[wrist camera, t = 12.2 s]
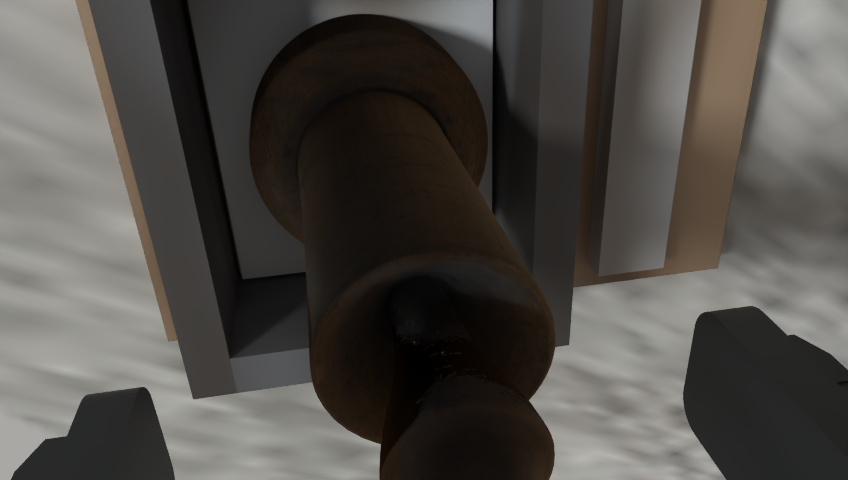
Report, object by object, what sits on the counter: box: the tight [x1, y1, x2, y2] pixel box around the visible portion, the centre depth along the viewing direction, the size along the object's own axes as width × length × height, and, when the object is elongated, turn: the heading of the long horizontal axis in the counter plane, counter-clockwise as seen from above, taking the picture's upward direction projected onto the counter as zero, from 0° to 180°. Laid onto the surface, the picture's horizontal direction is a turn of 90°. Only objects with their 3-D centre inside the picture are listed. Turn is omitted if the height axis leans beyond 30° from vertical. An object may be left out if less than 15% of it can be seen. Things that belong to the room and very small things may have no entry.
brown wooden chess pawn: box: [249, 14, 556, 480], centre depth 13 cm, size 7×6×18 cm
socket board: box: [76, 0, 767, 399], centre depth 20 cm, size 20×14×6 cm
